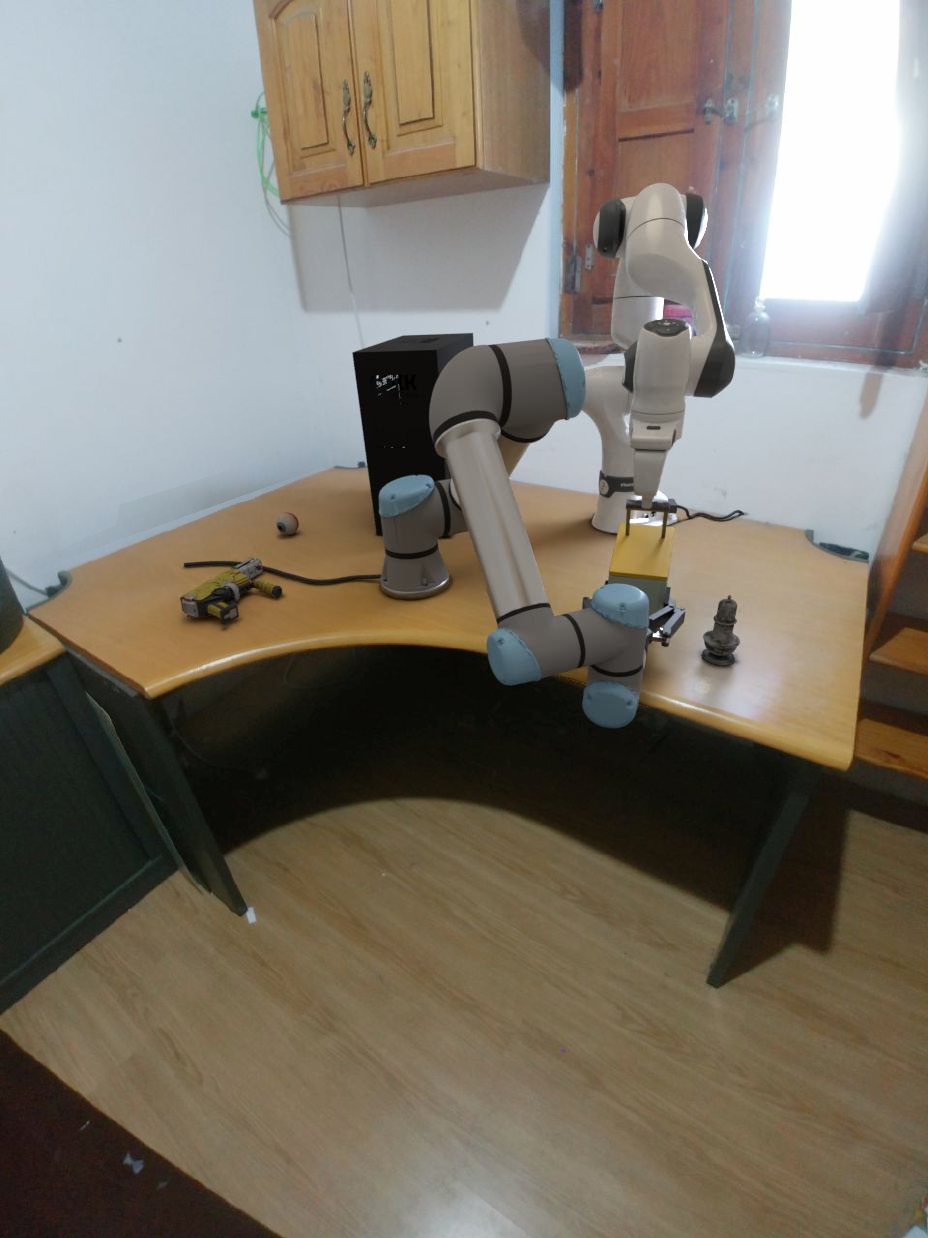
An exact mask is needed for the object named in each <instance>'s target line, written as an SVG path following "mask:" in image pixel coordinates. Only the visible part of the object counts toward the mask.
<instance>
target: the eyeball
mask: <svg viewBox="0 0 928 1238" xmlns="http://www.w3.org/2000/svg"><path fill="white" fill-rule="evenodd" d="M299 525H300V522H299V519H298V517H297V516H296V515H295V514H294V513H292V512H287V511H286V512H282V513H280V514H279V515H278V516H277V517H276V520H275V527H276V529H277V530H278V531H279V532H280V533H281V534H282V535H285V536H286V535H287V536H289V535H293V534H295V533H296V532H297V531H298V529H299Z"/></svg>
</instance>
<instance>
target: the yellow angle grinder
mask: <svg viewBox="0 0 928 1238" xmlns="http://www.w3.org/2000/svg"><path fill="white" fill-rule="evenodd" d="M241 562H242V563H240V564H238V565H234V566H231V567H230V568H228V569H226V570H225V571H223V572H221V573H219V574H217V575H216V576H213V577H212V578H210V579H208V580H206V581H205V582H203V583H202V584H200V585H198V586H197V587H195V588H192V589H191V590H189V591H187V592H186V593H183V594H182V595H181V596H180V597H179V601H180V606H181V611H182V612H183V614H184V615H186V617H187V618H191V619H195V618H206V617H210V616H214V617H217V618H218V619H220V622H221V625H227V624H228V623H230V622H233V621H234V620H236V619H238V618H239V617H240V613H239V608H238V607H239V606H238V601H239V600H240V598H241V595H243V594H245V593H247V592H249V591H251V590H253V589H255V590H257V591H258V590H259V591H260V592H263V593H266V594H267V595H272V596H273V597H275V598H278V597H280V596H281V595H283V587H282V586H281V585H276V584H274V583H270V582H268V581H266V580H262V579H260V578H256V577H257V576H258V575H260V574H262V573H263V572H264V570H262V566H263V563H262V559H261V558H258V557H256V558H255V557H253V556H250V557H248V558H247V559H245V560H243V561H241ZM258 565H261V569H257V568H256V566H258ZM253 578H256V579H254V580H253V581H251V580H252V579H253Z"/></svg>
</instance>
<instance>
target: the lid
mask: <svg viewBox="0 0 928 1238" xmlns="http://www.w3.org/2000/svg"><path fill="white" fill-rule="evenodd" d="M641 504H642V500H628V499H627V501H626V510H627V514H626V523H620V526H619V530H618V533H617V535H616V539H615V544H614V547H613V552H612V556H611V559H610V560H611V561H610V565H609V570H608V576H609V575H613V576H622V577H632V578H642V579H651V580H661V581H667V579H668V580H669V576H668V572H669V573H670V568H669V566H670V567H671V561H670V559H672V553H673V552H672V551H673V543H674V538H675V530H676V527H675V526H668V525H667V518H668V513H669V508H670V502H660V501H653V502H652V507H651V508H649V509H648V508H642V506H641ZM631 510H636V511H651V512H664V516H663V526H652V525H639V524H630V517H631ZM671 552H672V553H671Z"/></svg>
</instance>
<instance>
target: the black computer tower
mask: <svg viewBox="0 0 928 1238" xmlns="http://www.w3.org/2000/svg"><path fill="white" fill-rule="evenodd" d="M473 346H475V345H474V333H473V332H462V333H434V334H433V333H432V334H407V335H406V334H405V335H404V334H403V335H399V336H397V337H395V338H391V339H388V340H386V341H382V342H380V343H376V344H373V345H370V346H367V347H364V348H361V349H358V350H355V351H352V352H351V354H352V361H353V367H354V376H355V384H356V391H357V399H358V406H359V407H358V408H359V415H360V421H361V428H362V436H363V444H364V452H365V458H366V459H365V461H366V466H367V474H368V481H369V489H370V496H371V503H372V504H371V505H372V511H373V518H374V519H373V520H374V527H375V535H376V536H383V532H382V524H381V516H380V514H379V493H380V491H381V489H382V488H383V487H384V486H385V485H386V484H388V483H390V482H391V481H394V480H396V479H399V478H402V477H406V476H411V475H415V476H418V475H427V476H429V477H431V478H432V479H433V481H434V482H436V481H441V480H447V479H451V474H450V470H449V467H448V464H447V461H446V458H444V457H441V456H440V455H438V453H437V452H436V449H435V446H434V443H433V439H432V436H431V430H430V423H429V410H430V403H431V397H432V393H433V389H434V386H435V384H436V381H437V379H438V378H439V376H440V374H441V372H442V370H443V369H444V367H445V366H446V365H447V364H448V362H449V361H450V360H451V359H452V358H454V357H455V356H456V355H457V354H458V353H460V352H461V351H463V350H465V349H467V348H470V347H473ZM451 536H452V535H447V536H442V537H441V538H446V539H447V538H448V539H450V538H451Z"/></svg>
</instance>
